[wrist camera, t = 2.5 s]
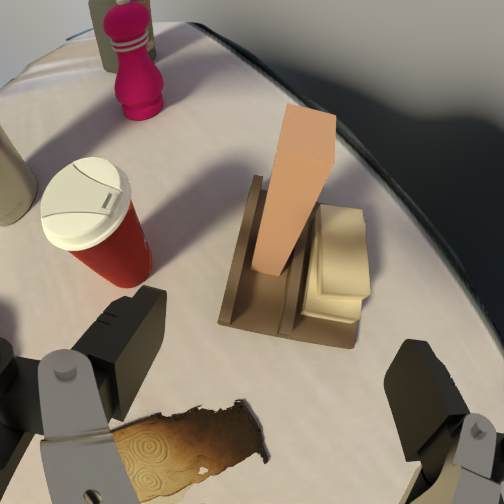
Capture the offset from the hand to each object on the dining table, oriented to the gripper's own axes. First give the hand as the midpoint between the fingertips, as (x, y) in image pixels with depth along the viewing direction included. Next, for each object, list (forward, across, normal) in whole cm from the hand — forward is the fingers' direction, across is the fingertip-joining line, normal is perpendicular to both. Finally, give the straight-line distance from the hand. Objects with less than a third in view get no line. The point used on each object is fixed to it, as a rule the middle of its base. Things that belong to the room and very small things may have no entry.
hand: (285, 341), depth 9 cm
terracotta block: (+22, 0, +6) cm, 23 cm away
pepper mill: (+37, +23, -7) cm, 44 cm away
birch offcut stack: (+22, -7, +6) cm, 24 cm away
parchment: (+6, +8, +25) cm, 26 cm away
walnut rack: (+23, -4, +7) cm, 24 cm away
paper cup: (+20, +15, +10) cm, 27 cm away
